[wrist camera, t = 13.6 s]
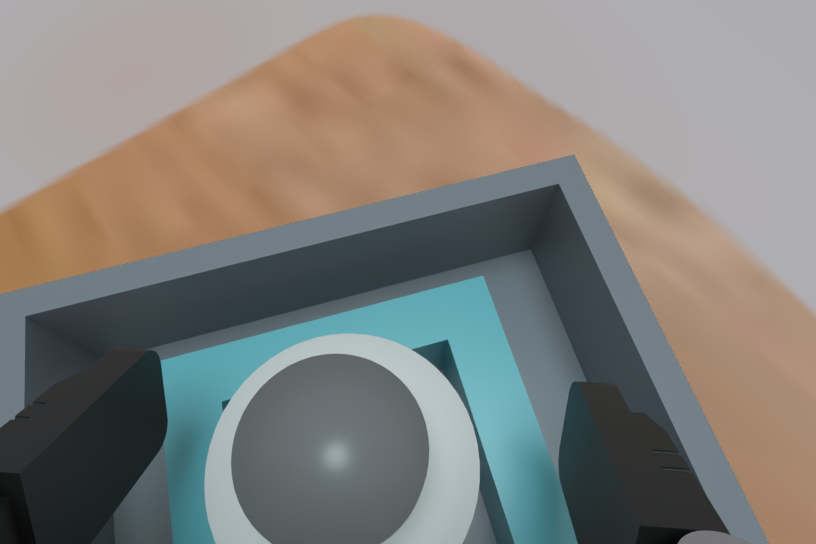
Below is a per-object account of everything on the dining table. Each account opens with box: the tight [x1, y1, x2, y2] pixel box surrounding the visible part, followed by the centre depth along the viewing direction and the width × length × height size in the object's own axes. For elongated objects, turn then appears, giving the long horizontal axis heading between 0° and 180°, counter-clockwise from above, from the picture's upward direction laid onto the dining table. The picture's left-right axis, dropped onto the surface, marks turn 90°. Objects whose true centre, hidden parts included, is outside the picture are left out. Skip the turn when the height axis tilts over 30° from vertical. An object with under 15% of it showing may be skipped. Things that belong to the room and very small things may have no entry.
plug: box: [204, 333, 480, 544], centre depth 11 cm, size 4×4×10 cm
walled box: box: [0, 155, 769, 544], centre depth 14 cm, size 16×14×5 cm
